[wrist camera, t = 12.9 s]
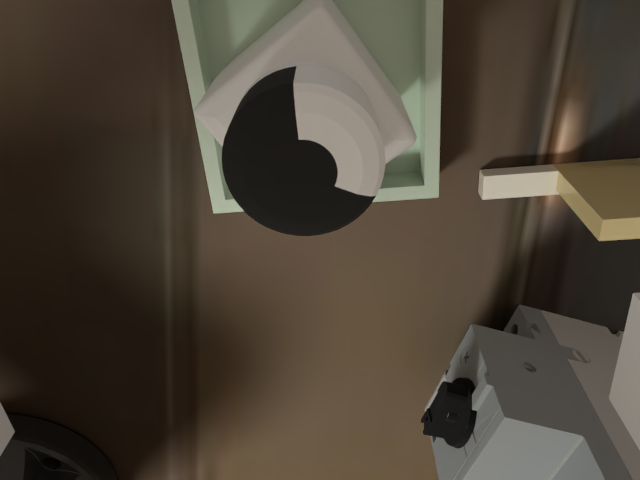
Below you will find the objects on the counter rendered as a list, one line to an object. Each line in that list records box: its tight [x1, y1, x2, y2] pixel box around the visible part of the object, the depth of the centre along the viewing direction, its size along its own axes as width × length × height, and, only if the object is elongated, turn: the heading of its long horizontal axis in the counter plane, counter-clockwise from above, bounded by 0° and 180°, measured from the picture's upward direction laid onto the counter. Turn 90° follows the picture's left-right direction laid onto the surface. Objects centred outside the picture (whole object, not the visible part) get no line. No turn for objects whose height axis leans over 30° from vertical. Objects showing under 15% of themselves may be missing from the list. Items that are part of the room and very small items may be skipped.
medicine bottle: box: [195, 0, 417, 236], centre depth 25 cm, size 7×7×12 cm
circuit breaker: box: [421, 304, 640, 480], centre depth 34 cm, size 8×14×15 cm, turn 73°
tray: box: [171, 0, 443, 213], centre depth 30 cm, size 13×13×2 cm
